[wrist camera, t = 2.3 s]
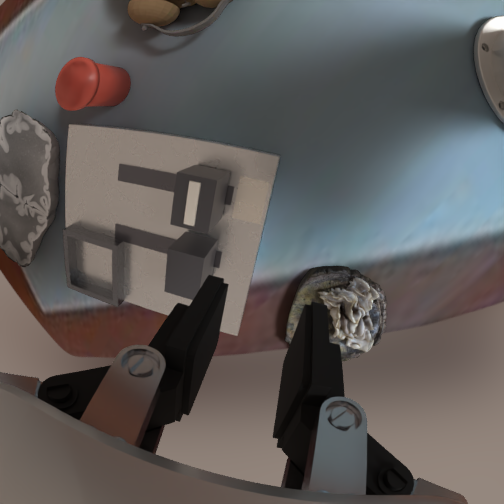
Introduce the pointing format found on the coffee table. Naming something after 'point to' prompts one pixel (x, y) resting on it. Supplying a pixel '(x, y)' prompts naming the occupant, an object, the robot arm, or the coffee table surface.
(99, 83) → the cap
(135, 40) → the coffee table surface
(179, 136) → the panel
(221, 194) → the block
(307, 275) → the grey rough lump
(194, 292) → the breaker
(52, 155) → the brain slice
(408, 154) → the coffee table surface
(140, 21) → the alarm clock
